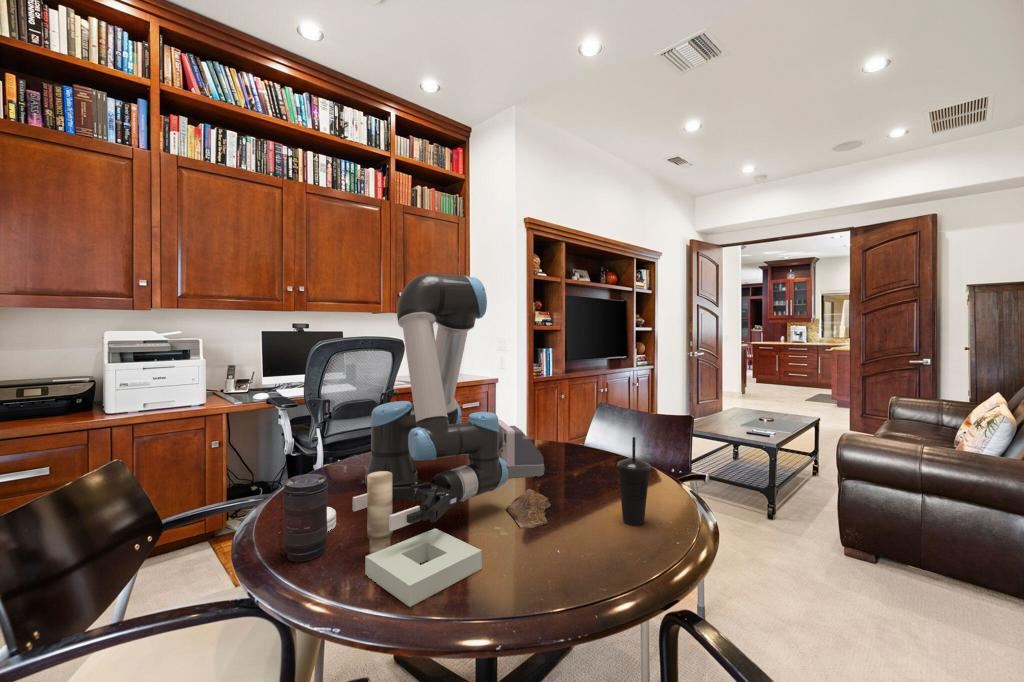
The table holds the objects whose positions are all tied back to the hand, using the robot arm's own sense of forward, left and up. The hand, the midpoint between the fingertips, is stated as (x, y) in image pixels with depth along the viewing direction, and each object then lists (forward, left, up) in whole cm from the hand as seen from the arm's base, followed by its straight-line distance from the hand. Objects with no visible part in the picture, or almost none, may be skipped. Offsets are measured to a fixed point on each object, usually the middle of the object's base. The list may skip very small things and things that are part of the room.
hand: (370, 513), depth 87 cm
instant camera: (-19, +62, -10) cm, 65 cm away
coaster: (-22, -2, -10) cm, 24 cm away
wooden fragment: (+6, +41, -10) cm, 43 cm away
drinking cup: (+30, +51, -9) cm, 60 cm away
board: (+12, +4, -9) cm, 15 cm away
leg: (0, +2, -9) cm, 9 cm away
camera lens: (-11, -8, -9) cm, 17 cm away
